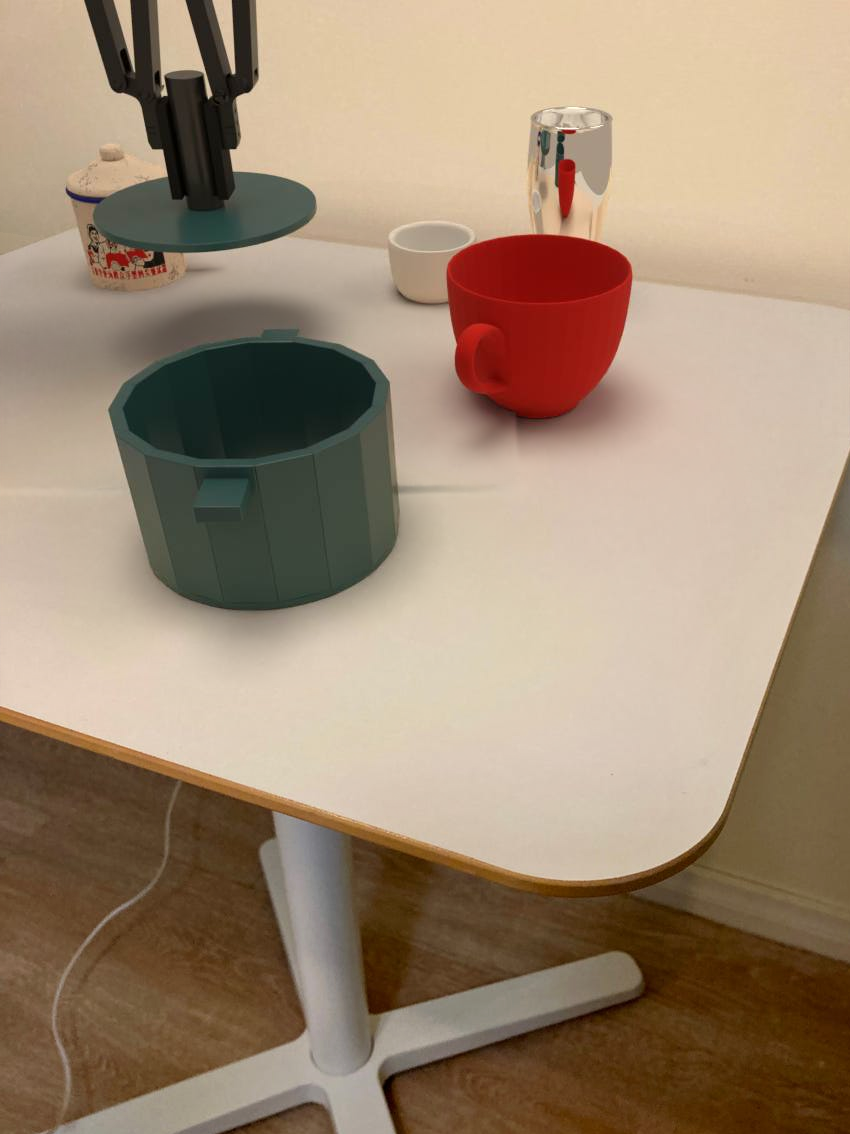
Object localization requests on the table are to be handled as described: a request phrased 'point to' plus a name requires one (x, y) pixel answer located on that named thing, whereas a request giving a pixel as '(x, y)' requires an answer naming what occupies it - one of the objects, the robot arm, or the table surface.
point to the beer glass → (569, 171)
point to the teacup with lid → (103, 256)
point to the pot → (261, 468)
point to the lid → (201, 193)
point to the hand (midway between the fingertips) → (204, 193)
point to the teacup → (426, 257)
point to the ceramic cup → (537, 319)
